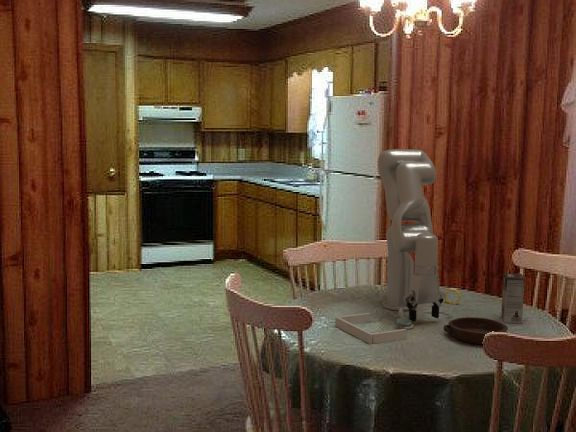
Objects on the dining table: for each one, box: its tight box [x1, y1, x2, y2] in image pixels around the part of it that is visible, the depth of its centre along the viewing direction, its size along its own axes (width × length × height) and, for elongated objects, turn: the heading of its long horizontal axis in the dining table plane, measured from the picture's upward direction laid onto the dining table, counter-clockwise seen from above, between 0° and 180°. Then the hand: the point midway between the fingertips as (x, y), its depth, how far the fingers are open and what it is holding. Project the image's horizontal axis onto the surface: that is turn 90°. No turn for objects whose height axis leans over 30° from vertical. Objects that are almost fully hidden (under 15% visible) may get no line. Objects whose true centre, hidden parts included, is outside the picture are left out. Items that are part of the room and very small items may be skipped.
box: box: [334, 312, 408, 345], centre depth 215 cm, size 22×14×3 cm, turn 26°
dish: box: [443, 316, 509, 345], centre depth 209 cm, size 18×22×5 cm
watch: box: [444, 287, 462, 305], centre depth 254 cm, size 6×3×6 cm, turn 62°
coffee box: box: [500, 272, 525, 325], centre depth 231 cm, size 9×6×16 cm
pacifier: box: [394, 308, 415, 330], centre depth 221 cm, size 7×6×6 cm
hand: (423, 319), depth 225 cm, fingers open, 9 cm apart
